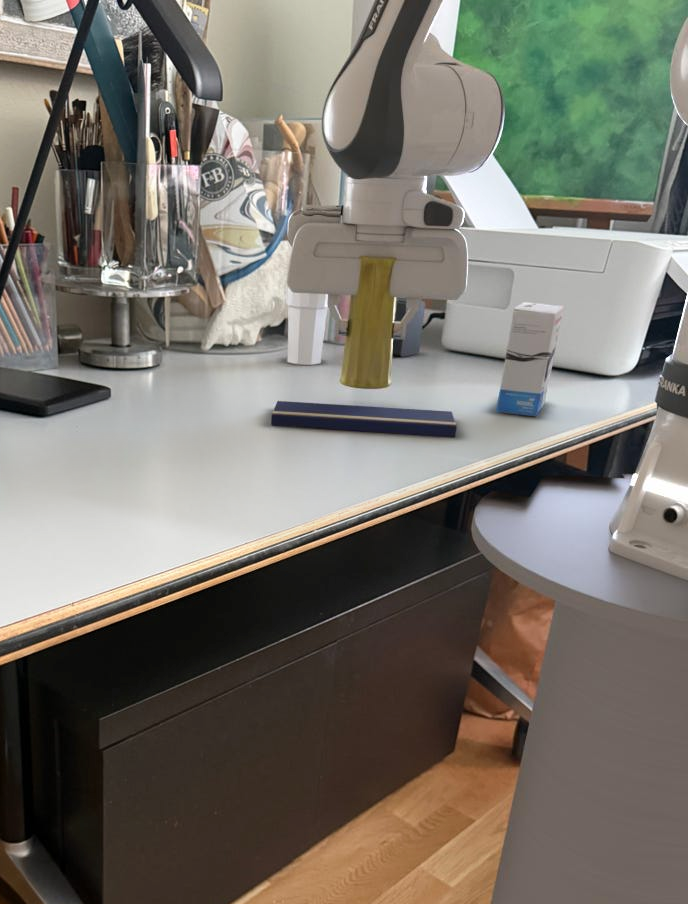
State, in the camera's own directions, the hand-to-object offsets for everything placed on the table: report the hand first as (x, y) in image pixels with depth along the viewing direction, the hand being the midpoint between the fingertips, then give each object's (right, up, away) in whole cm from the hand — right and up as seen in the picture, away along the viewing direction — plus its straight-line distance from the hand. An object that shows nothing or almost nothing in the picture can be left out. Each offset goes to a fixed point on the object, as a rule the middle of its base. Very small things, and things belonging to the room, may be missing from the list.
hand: (369, 337), depth 109 cm
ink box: (+19, -7, +5) cm, 21 cm away
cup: (-5, +5, +28) cm, 29 cm away
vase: (0, -5, +3) cm, 6 cm away
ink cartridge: (+11, +9, +35) cm, 38 cm away
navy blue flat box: (-2, -11, -4) cm, 12 cm away
